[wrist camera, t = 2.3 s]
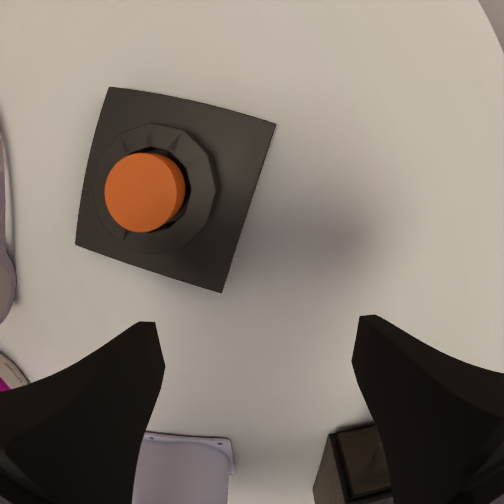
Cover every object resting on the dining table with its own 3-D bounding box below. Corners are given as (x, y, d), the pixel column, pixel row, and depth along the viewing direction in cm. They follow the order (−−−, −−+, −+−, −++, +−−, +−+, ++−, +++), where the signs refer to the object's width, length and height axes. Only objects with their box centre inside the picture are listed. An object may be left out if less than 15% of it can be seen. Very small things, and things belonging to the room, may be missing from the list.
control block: (87, 237, 17) (59, 253, 14) (120, 91, 15) (94, 79, 11) (224, 282, 18) (218, 308, 15) (274, 127, 16) (280, 118, 12)
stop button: (113, 214, 14) (98, 221, 12) (128, 146, 13) (113, 145, 11) (175, 233, 14) (165, 242, 13) (194, 163, 13) (186, 163, 11)
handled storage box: (328, 434, 24) (346, 508, 15) (433, 409, 23) (465, 466, 15) (312, 488, 28) (320, 541, 19) (396, 470, 28) (412, 516, 19)
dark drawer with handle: (348, 394, 21) (372, 464, 14) (454, 370, 20) (490, 418, 14) (320, 487, 26) (327, 531, 19) (399, 468, 26) (413, 507, 19)
